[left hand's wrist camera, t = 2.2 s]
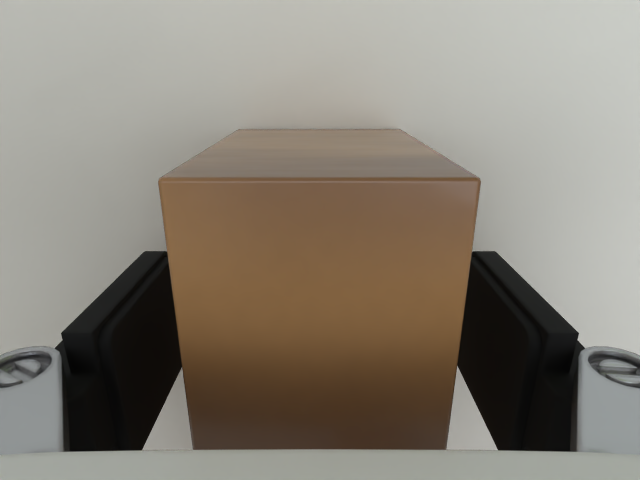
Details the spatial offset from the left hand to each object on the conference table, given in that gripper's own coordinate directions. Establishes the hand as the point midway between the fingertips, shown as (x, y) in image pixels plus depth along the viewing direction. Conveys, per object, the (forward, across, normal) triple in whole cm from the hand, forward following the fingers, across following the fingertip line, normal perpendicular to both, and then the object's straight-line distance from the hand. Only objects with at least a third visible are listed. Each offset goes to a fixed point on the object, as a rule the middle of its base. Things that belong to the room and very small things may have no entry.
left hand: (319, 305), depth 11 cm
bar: (+3, 0, -23) cm, 23 cm away
